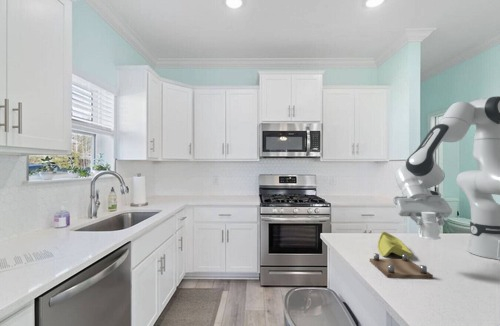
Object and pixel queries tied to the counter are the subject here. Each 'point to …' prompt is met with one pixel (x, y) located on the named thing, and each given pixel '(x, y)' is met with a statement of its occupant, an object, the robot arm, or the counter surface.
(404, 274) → the pin board
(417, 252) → the counter surface
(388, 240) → the plastic component
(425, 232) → the recessed downlight
